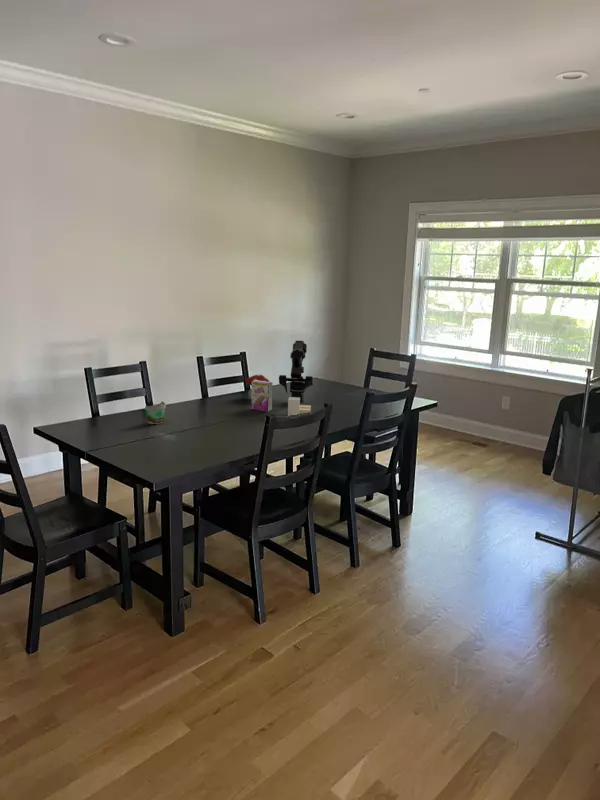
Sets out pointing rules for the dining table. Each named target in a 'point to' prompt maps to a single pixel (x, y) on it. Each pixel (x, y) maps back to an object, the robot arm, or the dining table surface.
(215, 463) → the dining table surface
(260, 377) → the decorative mushroom
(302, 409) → the oak block
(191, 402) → the dining table surface
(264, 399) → the candy bar box
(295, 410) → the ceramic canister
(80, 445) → the dining table surface
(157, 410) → the food container
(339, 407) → the dining table surface
